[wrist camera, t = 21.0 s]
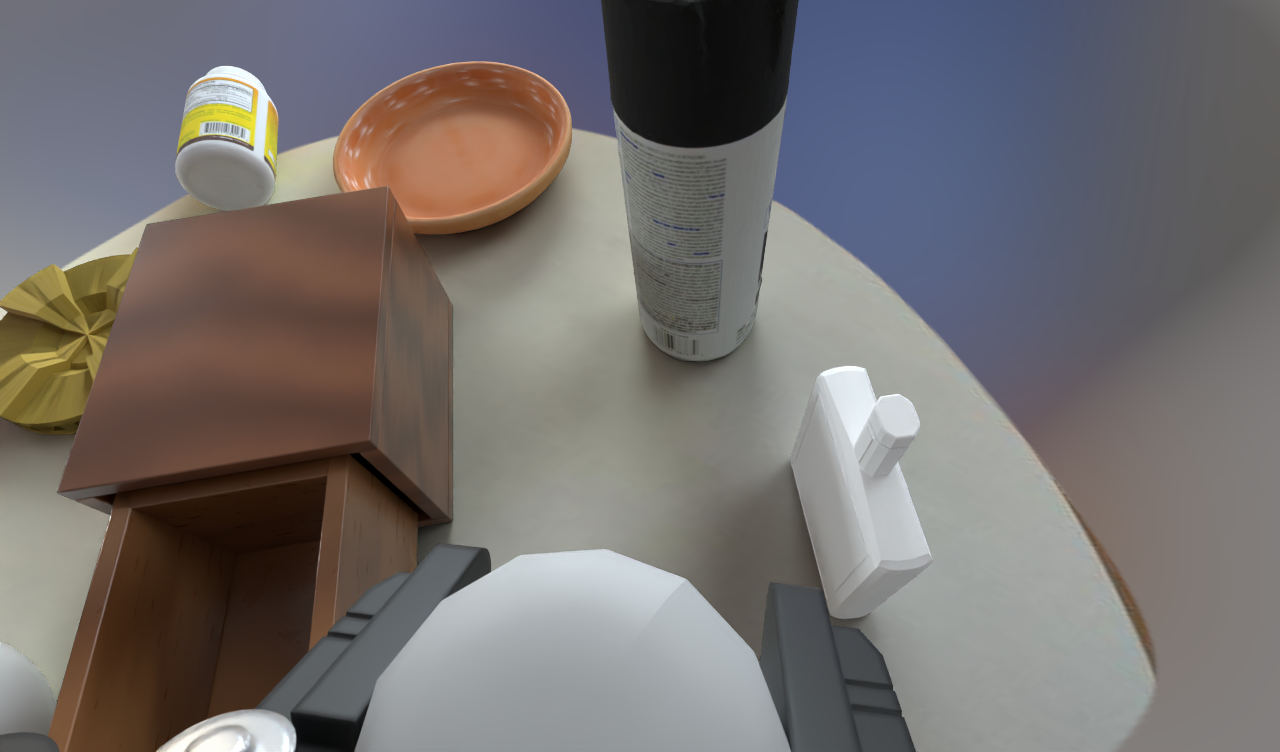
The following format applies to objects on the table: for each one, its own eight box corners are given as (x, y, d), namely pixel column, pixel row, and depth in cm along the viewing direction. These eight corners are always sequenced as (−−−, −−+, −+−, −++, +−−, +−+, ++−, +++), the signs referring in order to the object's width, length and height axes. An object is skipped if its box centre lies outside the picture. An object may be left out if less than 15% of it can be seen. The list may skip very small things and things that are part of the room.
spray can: (777, 338, 36) (855, -41, 19) (668, 385, 35) (645, 29, 18) (721, 257, 39) (744, -129, 22) (620, 298, 38) (561, -75, 21)
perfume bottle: (787, 455, 32) (830, 317, 22) (825, 450, 32) (888, 309, 22) (829, 622, 28) (908, 546, 18) (874, 615, 28) (978, 536, 18)
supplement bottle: (238, 229, 45) (247, 137, 50) (293, 186, 43) (297, 96, 48) (151, 180, 40) (172, 84, 46) (210, 130, 39) (224, 38, 44)
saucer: (623, 173, 44) (618, 136, 41) (415, 295, 39) (395, 263, 37) (503, 69, 51) (492, 32, 48) (317, 163, 47) (295, 129, 44)
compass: (160, 390, 35) (187, 409, 36) (193, 229, 41) (215, 253, 42) (-70, 438, 34) (-30, 455, 36) (-1, 268, 40) (30, 289, 42)
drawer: (428, 991, 22) (316, 1093, 16) (129, 1045, 22) (-114, 1172, 15) (435, 513, 31) (365, 447, 25) (222, 549, 31) (92, 493, 24)
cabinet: (453, 522, 32) (370, 440, 24) (220, 561, 32) (54, 493, 23) (453, 305, 39) (388, 184, 31) (262, 336, 39) (145, 223, 30)
